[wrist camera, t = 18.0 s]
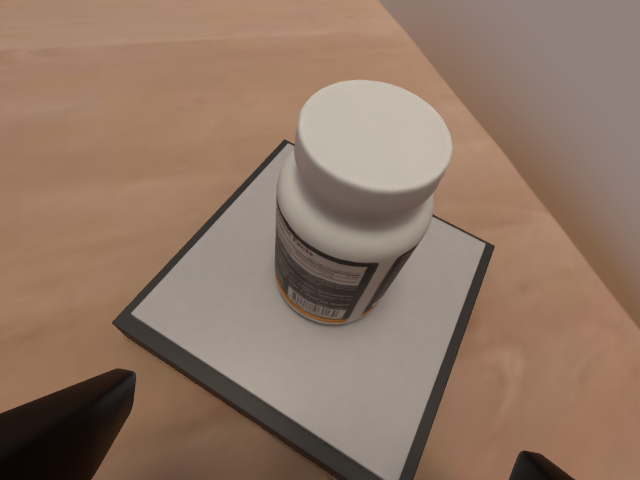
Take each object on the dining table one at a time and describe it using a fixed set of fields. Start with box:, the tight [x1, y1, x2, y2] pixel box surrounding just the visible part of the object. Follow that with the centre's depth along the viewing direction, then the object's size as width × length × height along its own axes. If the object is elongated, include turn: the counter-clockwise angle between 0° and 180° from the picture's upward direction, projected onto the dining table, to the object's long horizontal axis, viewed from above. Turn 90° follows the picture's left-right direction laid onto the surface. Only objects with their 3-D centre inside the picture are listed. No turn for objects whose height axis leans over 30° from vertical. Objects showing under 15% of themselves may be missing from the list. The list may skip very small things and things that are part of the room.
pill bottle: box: [275, 80, 452, 325], centre depth 15 cm, size 6×6×10 cm
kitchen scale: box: [112, 140, 495, 480], centre depth 21 cm, size 15×16×3 cm
